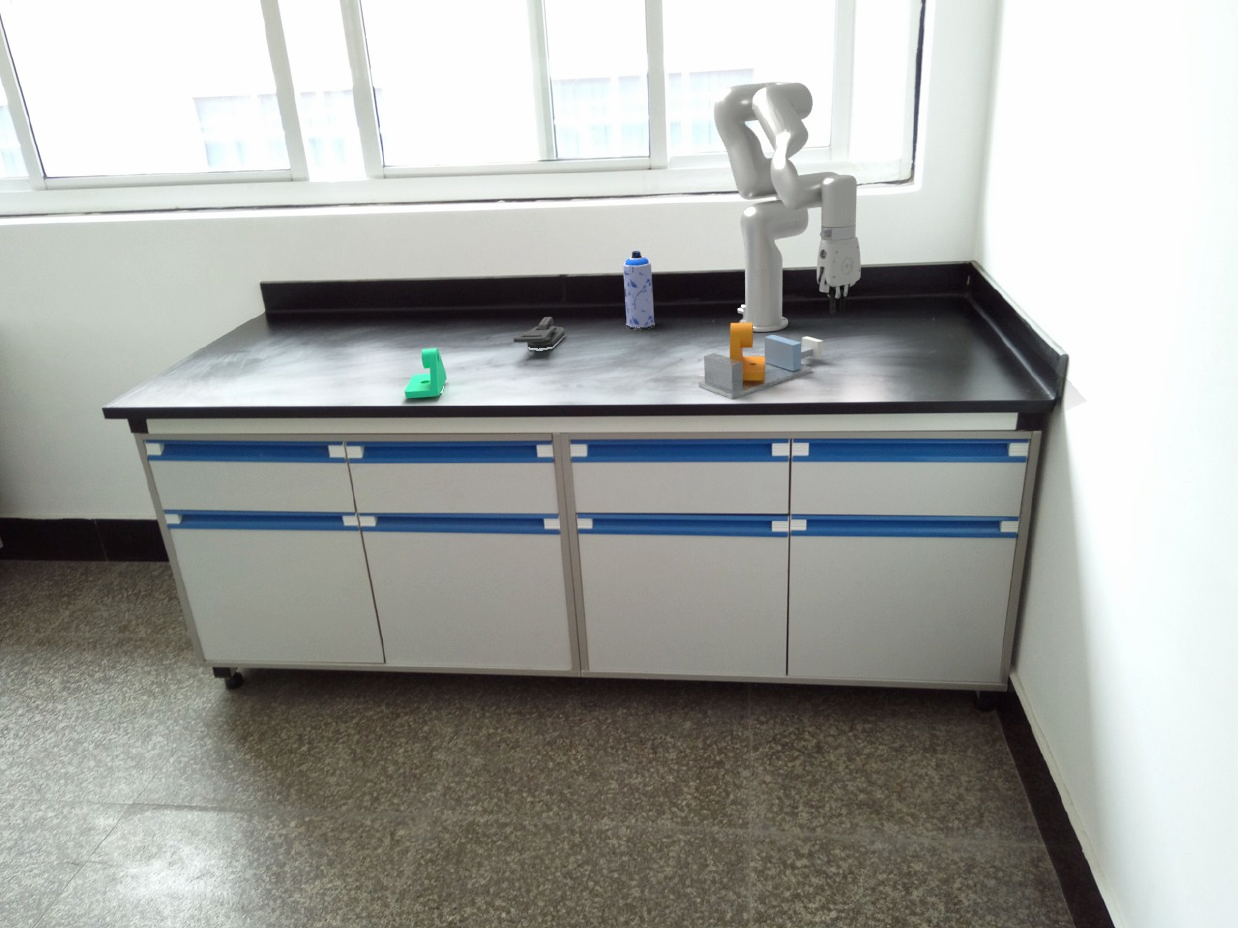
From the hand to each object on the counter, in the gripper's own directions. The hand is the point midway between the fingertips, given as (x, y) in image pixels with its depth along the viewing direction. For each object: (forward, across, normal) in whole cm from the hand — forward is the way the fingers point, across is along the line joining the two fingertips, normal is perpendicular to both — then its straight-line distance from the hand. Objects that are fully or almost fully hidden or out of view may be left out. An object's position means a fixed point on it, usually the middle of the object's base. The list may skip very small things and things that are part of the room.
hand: (837, 313), depth 210 cm
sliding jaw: (+9, -12, +1) cm, 15 cm away
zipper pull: (+9, -47, +58) cm, 75 cm away
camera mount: (+9, -83, +49) cm, 97 cm away
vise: (+10, -25, +1) cm, 27 cm away
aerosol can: (+8, -17, +55) cm, 58 cm away
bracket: (+9, -26, +2) cm, 28 cm away
